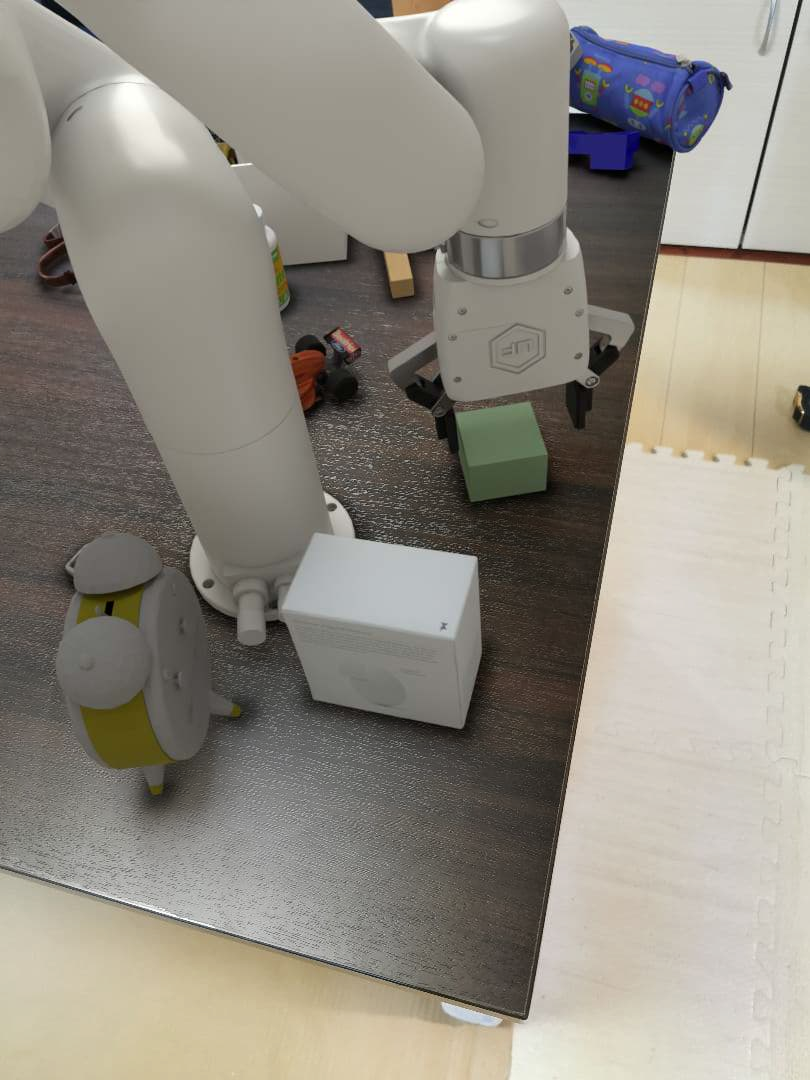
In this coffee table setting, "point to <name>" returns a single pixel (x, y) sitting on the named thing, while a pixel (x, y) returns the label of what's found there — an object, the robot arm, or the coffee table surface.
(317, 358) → the toy car
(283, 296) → the supplement bottle
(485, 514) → the coffee table surface
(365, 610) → the cosmetics box
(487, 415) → the green block
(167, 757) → the alarm clock
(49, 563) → the coffee table surface
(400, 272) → the tan wooden frame
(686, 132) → the pencil case
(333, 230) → the storage container
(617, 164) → the blue stepped block
